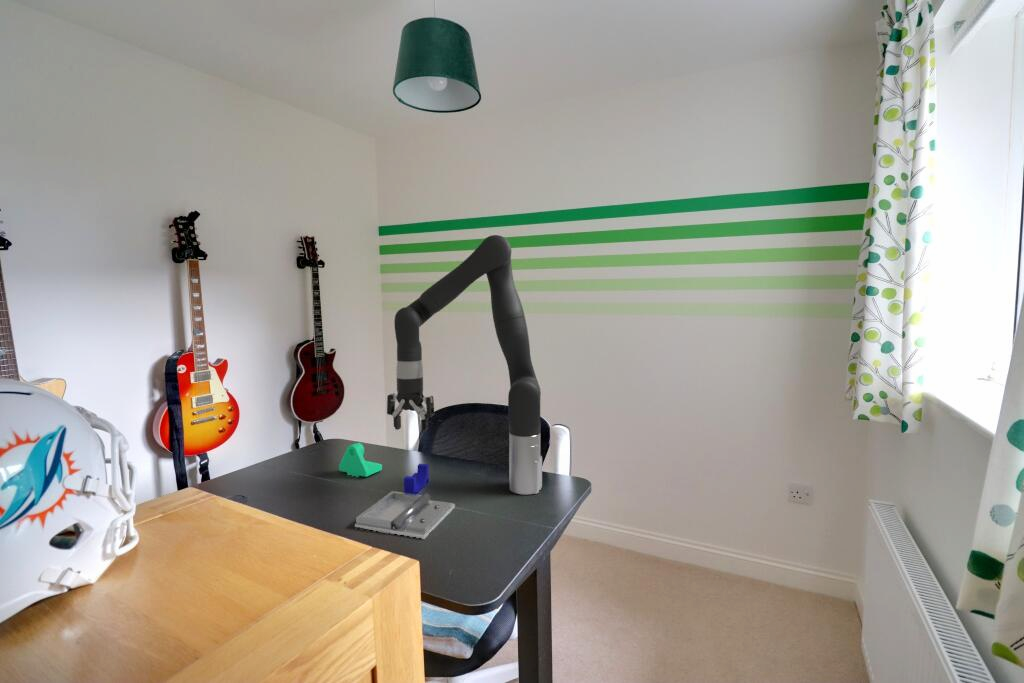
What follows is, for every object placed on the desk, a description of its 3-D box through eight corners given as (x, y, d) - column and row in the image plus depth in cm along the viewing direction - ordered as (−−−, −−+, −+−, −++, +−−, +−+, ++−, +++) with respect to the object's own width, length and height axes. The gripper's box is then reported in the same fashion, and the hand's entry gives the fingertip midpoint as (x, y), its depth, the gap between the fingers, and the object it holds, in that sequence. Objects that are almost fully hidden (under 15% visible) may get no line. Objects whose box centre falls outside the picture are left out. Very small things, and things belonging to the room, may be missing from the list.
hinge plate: (454, 507, 129) (454, 495, 129) (424, 539, 112) (423, 525, 112) (393, 498, 135) (393, 487, 135) (355, 528, 118) (354, 515, 118)
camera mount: (383, 472, 156) (382, 441, 155) (366, 480, 149) (365, 448, 149) (356, 466, 162) (355, 436, 161) (339, 473, 155) (337, 443, 154)
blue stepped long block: (415, 482, 148) (414, 463, 147) (429, 482, 147) (428, 464, 146) (399, 497, 136) (398, 477, 136) (414, 499, 135) (413, 478, 135)
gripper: (437, 374, 140) (438, 428, 141) (394, 372, 144) (396, 425, 145) (426, 379, 132) (426, 435, 134) (381, 376, 137) (382, 431, 138)
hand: (410, 430), depth 140 cm, fingers open, 8 cm apart
